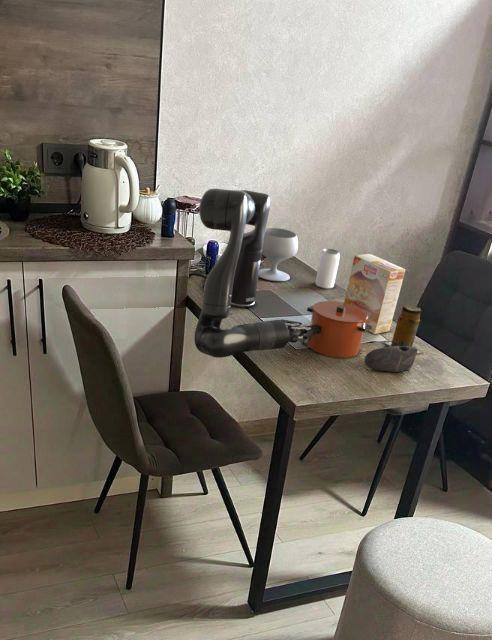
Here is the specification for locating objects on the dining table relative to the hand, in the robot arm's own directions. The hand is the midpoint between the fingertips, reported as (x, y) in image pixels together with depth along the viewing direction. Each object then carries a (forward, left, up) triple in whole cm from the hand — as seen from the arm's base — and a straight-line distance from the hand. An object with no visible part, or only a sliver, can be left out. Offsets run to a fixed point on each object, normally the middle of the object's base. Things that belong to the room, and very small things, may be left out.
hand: (319, 329), depth 199 cm
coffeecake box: (-8, +31, -7) cm, 33 cm away
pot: (0, +8, -7) cm, 10 cm away
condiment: (+10, +27, -7) cm, 30 cm away
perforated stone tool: (+18, +10, -7) cm, 22 cm away
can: (-38, +45, -7) cm, 60 cm away
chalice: (-53, +34, -7) cm, 63 cm away
